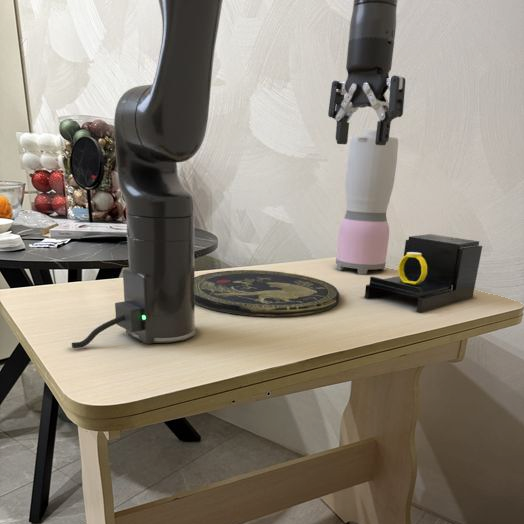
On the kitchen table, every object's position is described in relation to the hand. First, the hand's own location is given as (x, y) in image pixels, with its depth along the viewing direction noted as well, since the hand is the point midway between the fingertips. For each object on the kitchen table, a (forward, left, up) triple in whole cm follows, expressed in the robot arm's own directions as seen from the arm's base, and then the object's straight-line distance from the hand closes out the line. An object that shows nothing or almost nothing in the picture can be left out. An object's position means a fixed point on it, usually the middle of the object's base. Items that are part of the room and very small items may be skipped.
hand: (360, 144), depth 92 cm
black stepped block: (+15, -8, -28) cm, 33 cm away
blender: (+28, +17, -28) cm, 43 cm away
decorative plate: (-12, +11, -28) cm, 33 cm away
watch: (+10, -8, -25) cm, 28 cm away
